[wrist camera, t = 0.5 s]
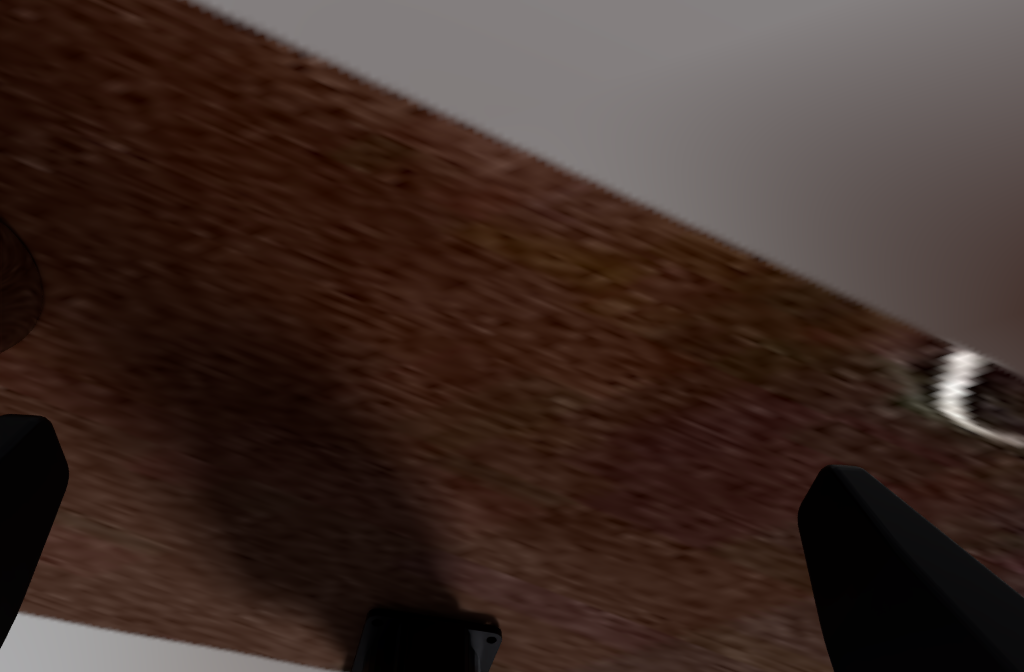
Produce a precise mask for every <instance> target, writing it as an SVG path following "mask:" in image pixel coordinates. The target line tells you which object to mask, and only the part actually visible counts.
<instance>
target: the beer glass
mask: <svg viewBox="0 0 1024 672" xmlns="http://www.w3.org/2000/svg"><path fill="white" fill-rule="evenodd" d="M42 306H43V288H42V283H41V279H40V275H39V272H38V270H37V267H36V265H35V263H34V261H33V259H32V257H31V256H30V254H29V252H28V251H27V249H26V248H25V247H24V245H23V244H22V243H21V241H20V240H19V239H18V238H17V237H16V236H15V235H14V233H13V232H12V231H11V230H10V229H9V228H8V227H6V226H5V225H4V224H3V223H2V222H1V221H0V353H2V352H4V351H6V350H8V349H10V348H11V347H13V346H15V345H16V344H17V343H19V342H20V341H22V340H23V339H24V338H25V337H26V336H27V335H28V334H29V333H30V332H31V331H32V329H33V328H34V326H35V325H36V323H37V321H38V319H39V317H40V314H41V311H42Z"/></svg>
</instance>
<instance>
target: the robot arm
mask: <svg viewBox="0 0 1024 672" xmlns="http://www.w3.org/2000/svg"><path fill="white" fill-rule="evenodd" d="M68 480H69V468H68V464H67V461H66V459H65V456H64V453H63V451H62V448H61V446H60V443H59V441H58V438H57V435H56V433H55V430H54V428H53V425H52V423H51V422H50V421H49V420H48V419H47V418H46V417H42V416H37V415H21V414H6V415H2V416H0V648H1V646H2V644H3V642H4V641H5V639H6V637H7V635H8V632H9V630H10V628H11V626H12V624H13V622H14V620H15V618H16V616H17V614H18V611H19V609H20V607H21V604H22V602H23V599H24V597H25V595H26V592H27V590H28V587H29V584H30V582H31V579H32V577H33V574H34V571H35V569H36V566H37V564H38V561H39V558H40V556H41V553H42V551H43V548H44V545H45V543H46V540H47V538H48V535H49V533H50V530H51V527H52V525H53V522H54V520H55V517H56V514H57V512H58V509H59V507H60V504H61V501H62V499H63V496H64V494H65V491H66V488H67V485H68ZM798 527H799V532H800V536H801V541H802V545H803V550H804V554H805V559H806V563H807V568H808V572H809V576H810V581H811V585H812V590H813V594H814V599H815V603H816V608H817V612H818V617H819V621H820V625H821V629H822V633H823V637H824V641H825V644H826V648H827V651H828V654H829V657H830V660H831V664H832V667H833V670H834V672H1024V597H1022V596H1021V595H1020V594H1019V593H1017V592H1016V591H1015V590H1014V589H1012V588H1011V587H1010V586H1009V585H1007V584H1006V583H1005V582H1004V581H1002V580H1001V579H1000V578H999V577H997V576H996V575H995V574H994V573H992V572H991V571H990V570H989V569H987V568H986V567H985V566H984V565H982V564H981V563H980V562H979V561H977V560H976V559H975V558H974V557H972V556H971V555H970V554H969V553H967V552H966V551H965V550H964V549H962V548H961V547H960V546H959V545H957V544H956V543H955V542H954V541H953V540H951V539H950V538H949V537H948V536H946V535H945V534H944V533H943V532H941V531H940V530H939V529H938V528H936V527H935V526H934V525H933V524H931V523H930V522H929V521H928V520H926V519H925V518H924V517H923V516H921V515H920V514H919V513H918V512H916V511H915V510H914V509H913V508H911V507H910V506H909V505H908V504H906V503H905V502H904V501H903V500H901V499H900V498H899V497H898V496H896V495H895V494H894V493H893V492H891V491H890V490H889V489H888V488H886V487H885V486H884V485H883V484H881V483H880V482H879V481H878V480H877V479H875V478H874V477H873V476H872V475H870V474H869V473H868V472H866V471H865V470H864V469H862V468H860V467H856V466H844V465H827V466H825V467H824V468H823V469H821V471H820V472H819V474H818V475H817V477H816V479H815V481H814V482H813V484H812V486H811V487H810V489H809V491H808V493H807V494H806V496H805V498H804V500H803V501H802V503H801V505H800V508H799V511H798ZM501 642H502V632H501V629H499V628H498V627H495V626H490V625H484V624H477V623H471V622H464V621H458V620H451V619H445V618H439V617H432V616H426V615H419V614H413V613H406V612H400V611H393V610H387V609H380V608H376V609H372V610H371V611H369V612H368V614H367V618H366V621H365V625H364V628H363V632H362V635H361V638H360V642H359V645H358V649H357V652H356V656H355V659H354V663H353V666H352V670H351V672H489V669H490V667H491V665H492V662H493V660H494V658H495V655H496V653H497V651H498V649H499V646H500V644H501Z"/></svg>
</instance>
